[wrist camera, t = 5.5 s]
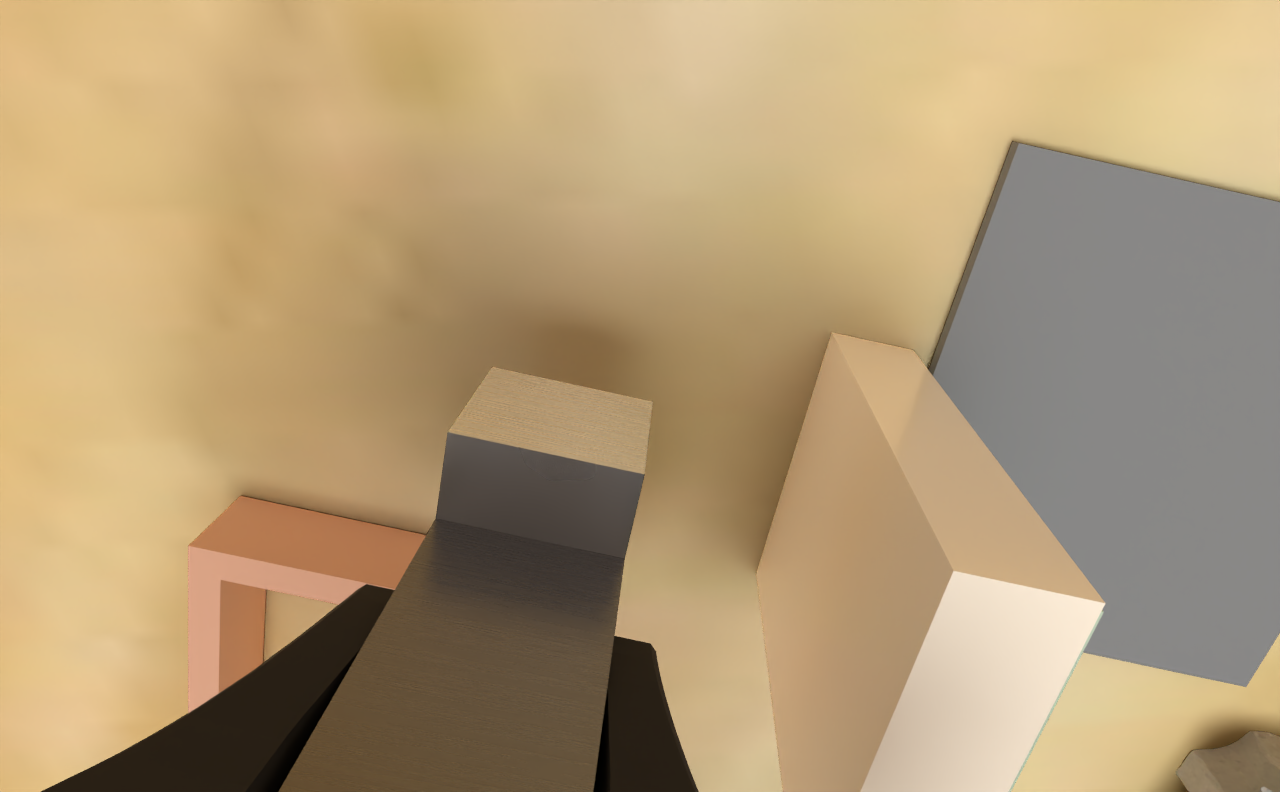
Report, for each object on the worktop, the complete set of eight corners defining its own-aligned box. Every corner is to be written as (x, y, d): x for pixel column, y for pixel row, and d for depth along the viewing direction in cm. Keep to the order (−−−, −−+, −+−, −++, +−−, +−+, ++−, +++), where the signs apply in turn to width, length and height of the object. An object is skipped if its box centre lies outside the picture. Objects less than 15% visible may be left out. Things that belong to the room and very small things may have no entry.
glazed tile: (837, 590, 22) (938, 961, 13) (755, 573, 22) (800, 933, 13) (923, 352, 20) (1124, 607, 11) (831, 332, 20) (953, 570, 11)
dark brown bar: (653, 401, 15) (596, 911, 6) (592, 661, 17) (480, 1337, 8) (492, 366, 15) (177, 828, 6) (451, 631, 17) (173, 1278, 8)
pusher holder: (462, 542, 23) (435, 597, 20) (426, 785, 26) (400, 856, 24) (240, 496, 22) (188, 545, 20) (233, 746, 26) (188, 814, 24)
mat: (1237, 676, 23) (1246, 687, 22) (846, 593, 22) (848, 602, 22) (1498, 251, 18) (1514, 255, 18) (1012, 141, 18) (1019, 143, 18)
